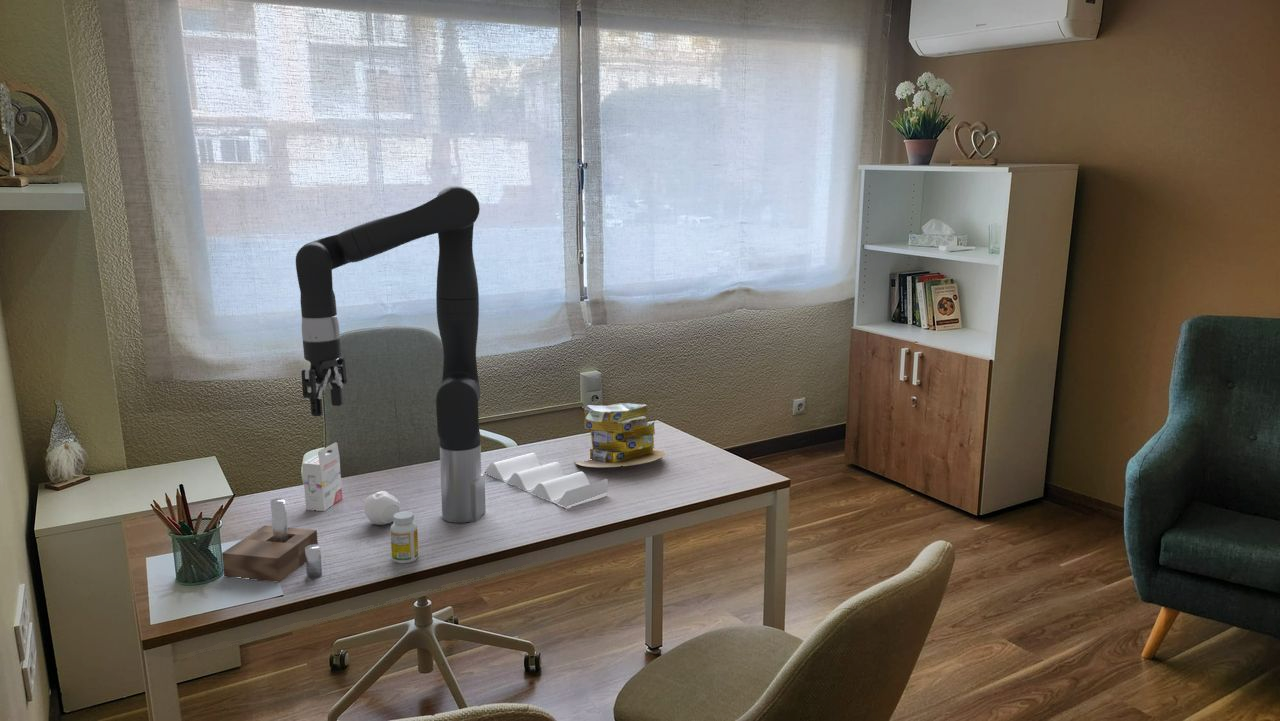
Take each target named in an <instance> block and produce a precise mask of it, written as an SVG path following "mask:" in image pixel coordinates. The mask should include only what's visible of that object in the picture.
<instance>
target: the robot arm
mask: <svg viewBox="0 0 1280 721" xmlns="http://www.w3.org/2000/svg"><path fill="white" fill-rule="evenodd" d="M480 208H481V207H480V202H479V199H478V197H477V196H476V195H475V194H474V192H473V191H471V190H470V189H468V188H466V187H463V186H460V185H450V186H447V187H444V188H443V189H441V190H440V191H439V192H438V194H437V195H436V196H435V197H434V198H432V199H431V200H428V201H426V202H425V203H423V204H420V205H417V206H416V207H413V208H410V209H409V210H406V211H403V212H402V211H401V212H399V213H396V214H392V215H387V216H384V217H380V218H377V219H373V220H370V221H366V222H365V223H364V222H363V223H362V224H359V225H356V226H353V227H351V228H349V229H344V230H343V231H341V232H340V233H337V234H334V235H329V236H325V237H322V238H319V239H317V240H313V241H310V242H308V243H306V244H304V245H302V246H301V247H300V248H299V250H297V252H296V256H295V267H296V268H295V270H296V277H297V282H298V286H299V292H300V311H301V336H302V338H301V340H302V349H303V350H302V351H303V358H304V360H306V362H307V361H308V362H309V363H310V366H309V369H302V370H301V386H302V397H303V399H309V401H310V402H309V403H310V411H311V416H314V417H321V416H323V412H324V411H323V403H322V401H323V400H322V395H323V391H324V390H326V388H327V385H329V387H330V388H331V389H330V398H331V399H330V400H331V405H332V406H333V407H335V406H336V407H341V406H342V405H343V395H342V389H343V387H344V384H347V382H348V379H347V370H346V361H345V360H346V359H345V358H344V357H342V344H341V334H340V326H339V325H340V324H339V319H338V312H337V302H336V295H335V292H334V290H333V289H334V288H333V284H334V283H333V270H335V269H337V268H339V267H342V266H345V265H348V264H350V263H357V262H360V261H361V262H362V261H364V260H367V259H369V258H372V257H375V256H378V255H381V254H382V253H385V252H388V251H390V250H393V249H395V248H397V247H399V246H402V245H406V244H407V243H410V242H413V241H416V240H418V239H421V238H426V237H427V236H431V235H434V234H435V235H436V234H437V236H438V262H437V272H436V273H437V274H436V275H437V276H436V291H435V292H436V293H435V295H436V320H437V326H438V332H439V336H440V340H441V345H442V352H443V364H442V365H443V368H442V378H441V384H440V387H439V388H438V390H437V392H436V398H435V410H436V411H435V412H436V427H437V428H436V429H437V436H438V440H439V461H440V462H439V466H440V491H441V493H440V494H441V495H440V496H441V515H442V516H441V517H442V519H443V520H444V521H446V522H448V523H449V522H450V523H456V524H457V523H458V524H462V523H470V522H475V523H476V522H478V521H479V520H480V519H481V517H482V516H483V515H484V514H485V513H486V477H485V476H486V474H485V473H482V449H481V448H482V447H481V445H482V444H481V442H482V441H481V440H482V439H481V433H480V422H479V421H480V420H479V415H480V414H479V401H480V398H481V389H480V388H481V387H480V380H479V375H478V364H477V343H478V333H479V332H478V331H479V314H480V313H479V312H480V303H479V300H480V296H479V284H478V277H477V275H478V274H477V269H476V265H475V260H474V258H475V257H474V253H473V252H474V251H473V239H474V225H475V222H476V221H477V219H478V218H479V215H480ZM340 374H341V375H340ZM308 388H309V389H308Z"/></svg>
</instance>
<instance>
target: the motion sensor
mask: <svg viewBox="0 0 1280 721" xmlns="http://www.w3.org/2000/svg"><path fill="white" fill-rule="evenodd" d="M363 503H364V506H363V507H364V508H363V510H364V514H365V517H366V518H367V519H368V520H369V522H370V523H372V524H374V525H378V526H385V525H388V524H390V523H392V522H394V521H393V516H394V514H395V513H397V512H401V502H400V501H399V500H398V498H396V496H395V495H392V494H390V493H389V492H388V491H387V490H386V491H385V490H381V491H378V492H375V493H374V494H370V495H368V496H367V497H366V498H365V500H364V502H363Z"/></svg>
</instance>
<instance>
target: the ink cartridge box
mask: <svg viewBox="0 0 1280 721" xmlns="http://www.w3.org/2000/svg"><path fill="white" fill-rule="evenodd" d="M338 446H339V445H338V442H336V441H335V442H333V443H332V444H329V445H328V446H326V447H324V448H323V449H321V450H319V451H318V452H317V455H315V456H313V457H312V458H311V457H310V459H308V460H306V461H304V462H302V463H301V464H302V465H301V466H302V475H303V487H304V499H305V510H306V509H307V510H306V511H314V510H316V511H317V512H325V511H327V510H329V507H330V508H331V507H333V506H334V505H335V504H337V503H339V501H341V500H342V499H343V492H342V491H343V490H342V486H343V485H342V474H341V461H340V453H339V452H340V451H339V447H338ZM328 451H331V452H328ZM316 511H315V512H316Z"/></svg>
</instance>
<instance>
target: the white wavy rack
mask: <svg viewBox="0 0 1280 721" xmlns="http://www.w3.org/2000/svg"><path fill="white" fill-rule="evenodd" d="M485 473H487V474H490V475H492V476H494V477H496V478H499V479H501V480H507V479H509V478H510V479H509V480H508V481H507V482H508V483H510V484H513V485H515V486H517V487H520V488H522V489H524V490H531V489H533V488H534V489H533V491H532V492H531V493H533V494H536V495H538V496H540V497H543V498H545V499H548V500H551V501H554V500H557V499H559V498H561V499H560V500H559V501H558V502H557V503H558V504H560V505H563V506H565V507H567V506H569V505H572V504H575V503H578V502H581V501H584V500H586V499H589V498H592V497H595V496H597V495H600V494H603V493H606V492H608V491H609V490H608V486H609V485H608V484H609V483H608V481H609V479H608V478H605V479H602V480H600V481H599V480H598V481H596V482H593V483H590V481H589V479H588V477H587V475H586V473H585V472H583V471H578V472H574V473H570V474H567V475H566V474H565V472H564V470H563V468H562V466H561V464H560V463H559V462H558V461H553V462H550V463H546V464H542V463H541V461H540V460H539V457H538V456H537V455H536V453H535V452H530V453H526V454H523V455H518V456H514V457H511V458H507V459H503V460H499V461H496V462H491V463H490V464H489V466H488V467H487V468H486V469H485V472H484V474H485ZM487 474H486V475H487ZM490 475H489V476H490ZM492 476H491V477H492ZM494 477H493V478H494ZM496 478H495V479H496ZM499 479H498V480H499ZM501 480H500V481H501ZM508 483H507V484H508ZM510 484H509V485H510ZM517 487H516V488H517ZM524 490H523V491H524ZM533 494H532V495H533Z"/></svg>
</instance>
